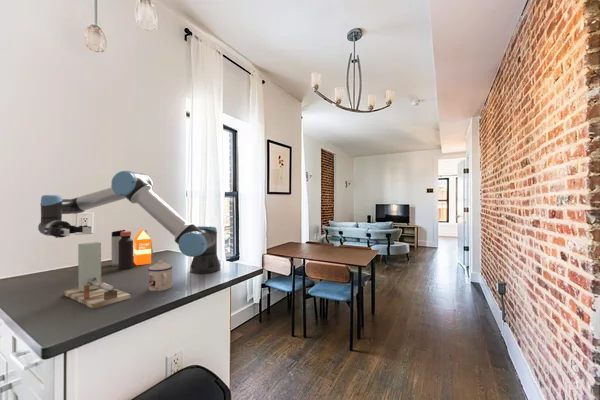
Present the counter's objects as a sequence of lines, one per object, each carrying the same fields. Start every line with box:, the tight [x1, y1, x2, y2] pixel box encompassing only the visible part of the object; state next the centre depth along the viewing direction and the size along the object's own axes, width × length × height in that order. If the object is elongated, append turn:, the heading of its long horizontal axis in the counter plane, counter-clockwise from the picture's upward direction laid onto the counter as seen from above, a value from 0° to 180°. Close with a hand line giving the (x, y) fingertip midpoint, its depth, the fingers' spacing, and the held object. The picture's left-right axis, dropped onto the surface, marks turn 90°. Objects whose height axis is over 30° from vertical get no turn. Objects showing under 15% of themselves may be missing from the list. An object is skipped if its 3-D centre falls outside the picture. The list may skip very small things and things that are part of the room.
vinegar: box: [118, 230, 134, 271], centre depth 152 cm, size 7×7×20 cm
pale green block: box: [77, 241, 102, 292], centre depth 111 cm, size 4×6×18 cm, turn 147°
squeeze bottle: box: [144, 229, 154, 257], centre depth 178 cm, size 8×8×18 cm
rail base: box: [63, 285, 131, 309], centre depth 107 cm, size 26×12×6 cm, turn 57°
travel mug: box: [111, 229, 126, 267], centre depth 161 cm, size 6×7×20 cm
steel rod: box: [88, 278, 115, 292], centre depth 107 cm, size 24×2×2 cm, turn 57°
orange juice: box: [133, 228, 152, 266], centre depth 165 cm, size 8×9×20 cm
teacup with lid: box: [148, 259, 173, 292], centre depth 116 cm, size 12×9×12 cm
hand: (79, 231), depth 116 cm, fingers open, 7 cm apart
